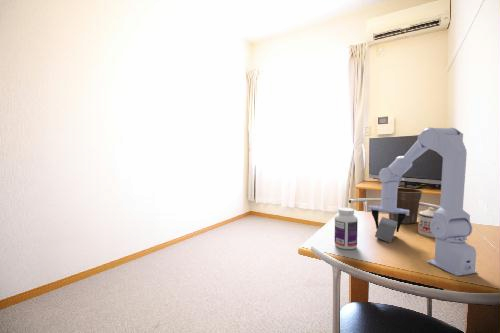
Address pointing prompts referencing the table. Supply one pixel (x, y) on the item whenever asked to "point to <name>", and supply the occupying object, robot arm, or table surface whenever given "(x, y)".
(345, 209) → the pill bottle
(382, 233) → the grey block
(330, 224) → the table surface
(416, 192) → the plant pot
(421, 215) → the teacup with lid
